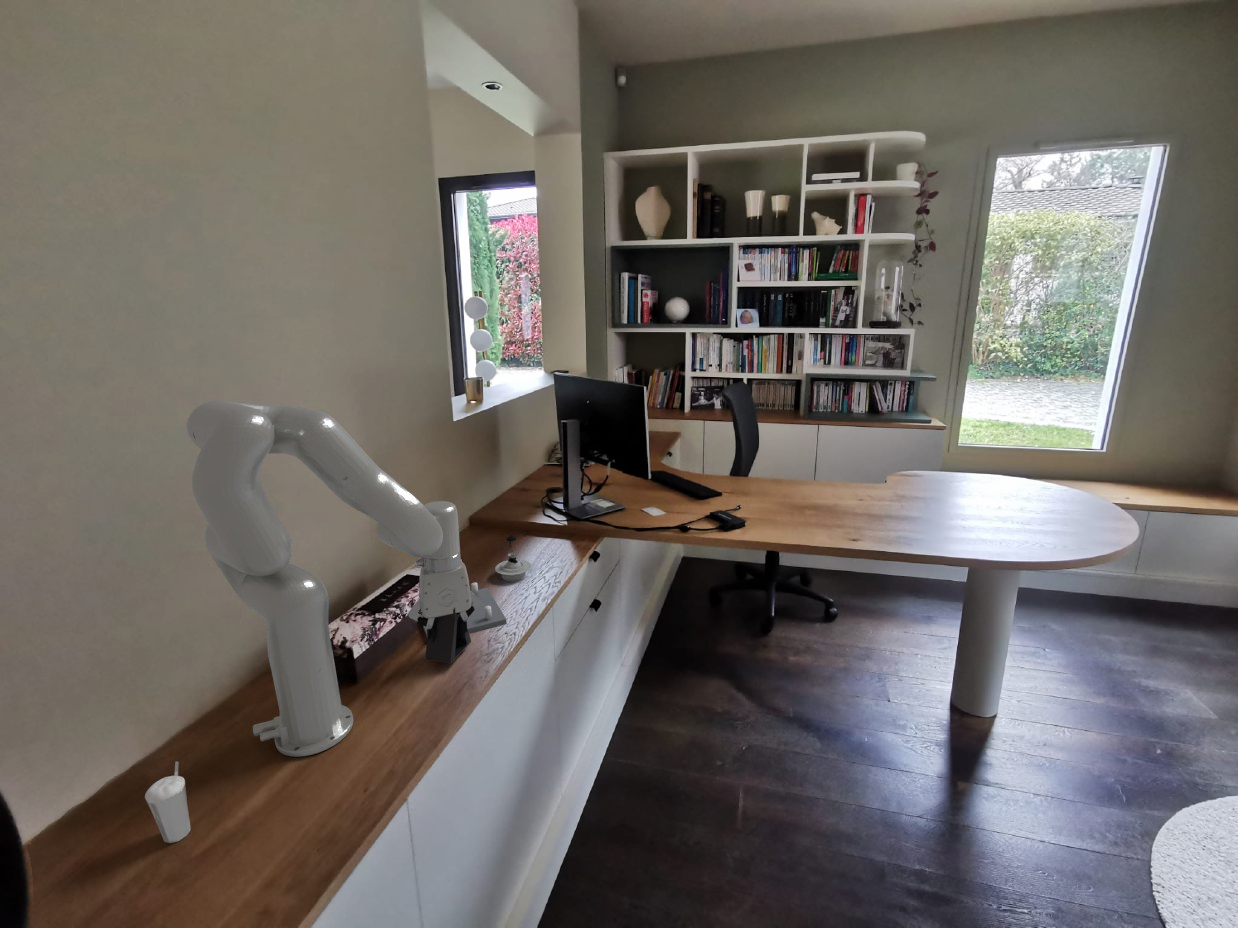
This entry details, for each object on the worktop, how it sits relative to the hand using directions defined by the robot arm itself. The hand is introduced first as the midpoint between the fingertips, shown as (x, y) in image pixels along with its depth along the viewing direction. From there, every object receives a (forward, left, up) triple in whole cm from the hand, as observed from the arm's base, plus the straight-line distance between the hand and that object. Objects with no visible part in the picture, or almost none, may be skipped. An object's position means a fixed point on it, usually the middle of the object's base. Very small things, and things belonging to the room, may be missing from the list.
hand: (447, 638), depth 128 cm
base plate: (+6, +16, -4) cm, 18 cm away
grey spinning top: (+24, +31, -5) cm, 40 cm away
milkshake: (-44, -27, -5) cm, 52 cm away
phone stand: (0, 0, -3) cm, 3 cm away
